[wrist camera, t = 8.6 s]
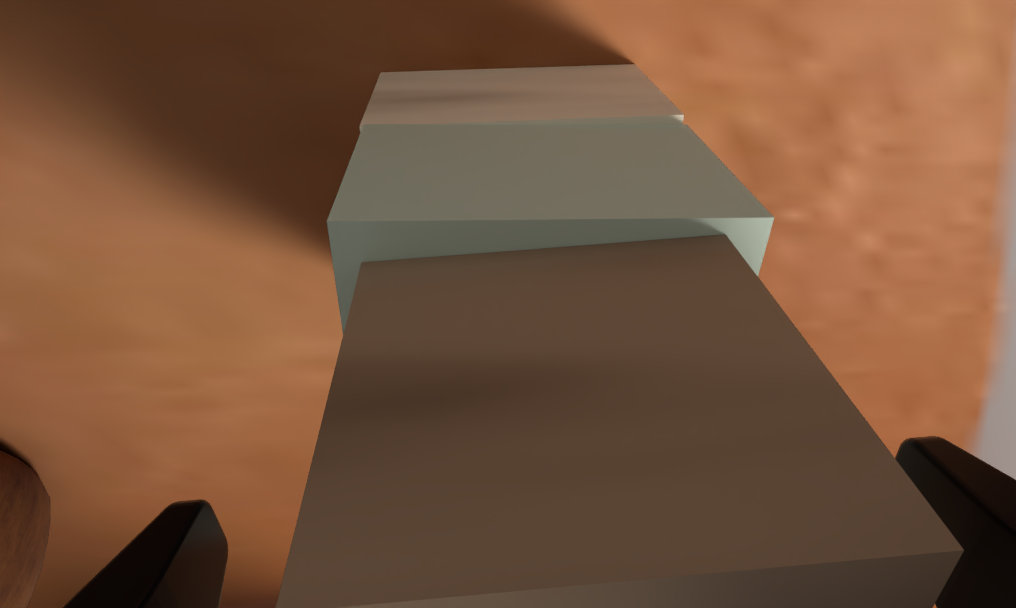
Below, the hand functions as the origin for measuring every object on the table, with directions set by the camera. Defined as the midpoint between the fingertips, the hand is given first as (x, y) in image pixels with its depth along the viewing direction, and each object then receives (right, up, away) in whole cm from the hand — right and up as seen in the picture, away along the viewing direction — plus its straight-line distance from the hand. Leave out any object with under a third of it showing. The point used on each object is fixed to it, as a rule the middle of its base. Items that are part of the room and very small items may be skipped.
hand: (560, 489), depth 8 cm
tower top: (0, +3, +5) cm, 6 cm away
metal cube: (0, +1, +2) cm, 2 cm away
